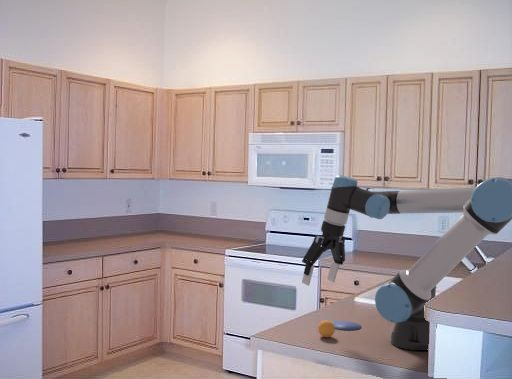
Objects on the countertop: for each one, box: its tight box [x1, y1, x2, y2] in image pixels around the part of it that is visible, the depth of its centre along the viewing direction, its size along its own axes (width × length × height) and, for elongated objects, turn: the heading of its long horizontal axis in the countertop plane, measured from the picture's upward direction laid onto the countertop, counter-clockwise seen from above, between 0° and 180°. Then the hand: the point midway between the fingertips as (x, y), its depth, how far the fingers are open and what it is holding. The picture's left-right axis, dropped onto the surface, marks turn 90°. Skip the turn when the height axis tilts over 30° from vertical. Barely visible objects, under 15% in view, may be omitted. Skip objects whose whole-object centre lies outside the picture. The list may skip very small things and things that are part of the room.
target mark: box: [331, 320, 362, 331], centre depth 203 cm, size 12×12×1 cm
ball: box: [317, 319, 336, 338], centre depth 188 cm, size 6×6×6 cm
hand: (318, 282), depth 190 cm, fingers open, 13 cm apart
